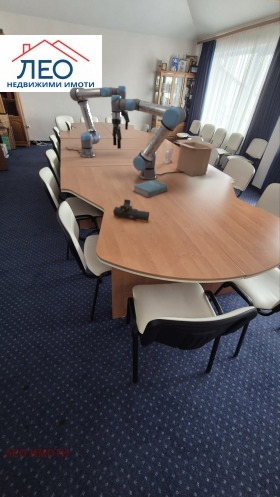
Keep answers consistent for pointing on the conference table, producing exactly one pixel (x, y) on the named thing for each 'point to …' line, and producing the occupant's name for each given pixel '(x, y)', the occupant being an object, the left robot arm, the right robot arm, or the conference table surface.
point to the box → (194, 157)
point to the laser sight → (130, 212)
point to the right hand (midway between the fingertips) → (116, 146)
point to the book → (150, 188)
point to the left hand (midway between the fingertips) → (121, 128)
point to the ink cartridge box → (168, 156)
